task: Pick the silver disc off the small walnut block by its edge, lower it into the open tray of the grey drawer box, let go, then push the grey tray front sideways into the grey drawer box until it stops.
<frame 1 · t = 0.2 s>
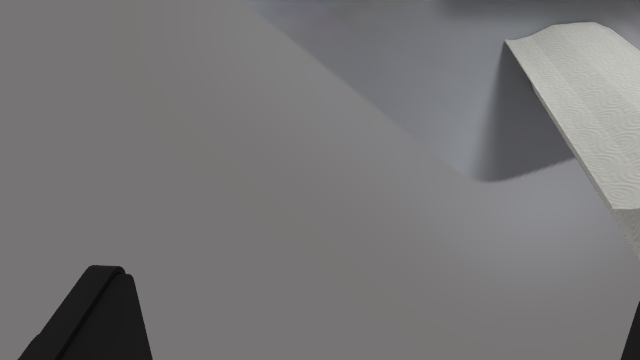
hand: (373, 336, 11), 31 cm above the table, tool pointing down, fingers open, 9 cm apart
paper towel roll: (569, 56, 39), on the table
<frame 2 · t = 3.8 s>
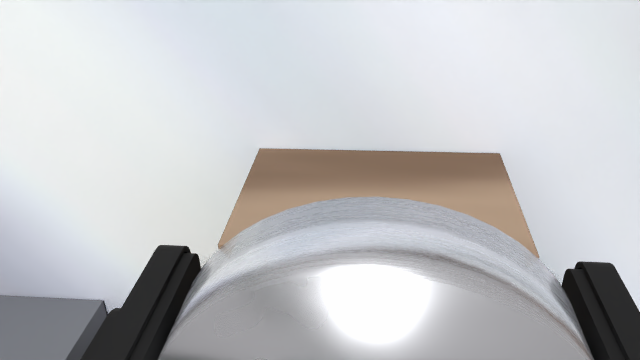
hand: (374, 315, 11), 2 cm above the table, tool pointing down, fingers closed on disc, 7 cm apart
pedestal: (374, 248, 13), on the table
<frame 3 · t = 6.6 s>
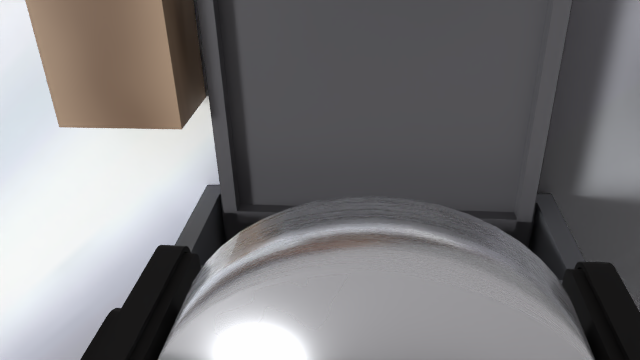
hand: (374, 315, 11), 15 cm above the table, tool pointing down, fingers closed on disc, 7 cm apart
pedestal: (141, 40, 24), on the table
grey drawer box: (371, 319, 31), on the table
tray: (375, 131, 21), point 4 cm above the table, slide at 11.0 cm
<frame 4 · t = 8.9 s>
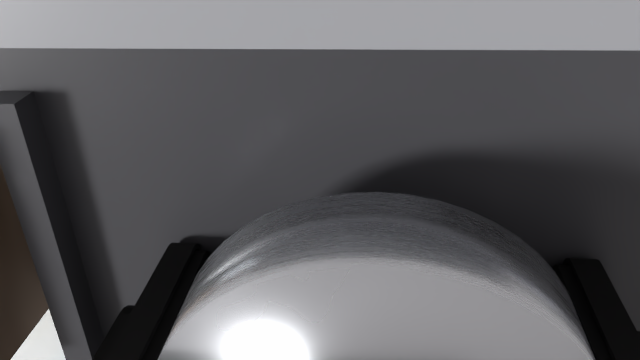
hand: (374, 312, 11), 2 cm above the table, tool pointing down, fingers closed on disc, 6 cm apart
disc: (373, 359, 10), point 3 cm above the table, touching gripper
when the fingers open (2 cm above the table, at t = 9.3 s): disc drops 2 cm, resting on tray.
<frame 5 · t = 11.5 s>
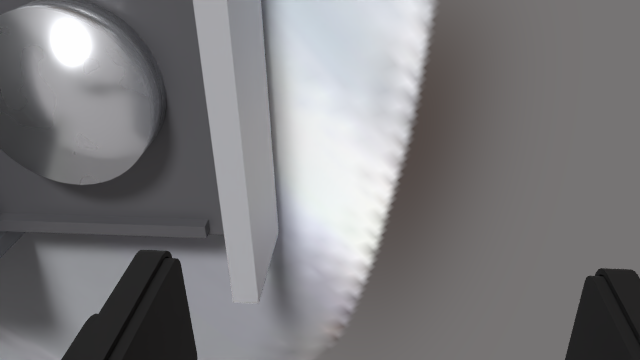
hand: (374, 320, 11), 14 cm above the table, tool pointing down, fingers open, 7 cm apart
disc: (80, 86, 23), point 2 cm above the table, touching tray
tray: (35, 107, 22), point 4 cm above the table, slide at 11.0 cm, touching disc
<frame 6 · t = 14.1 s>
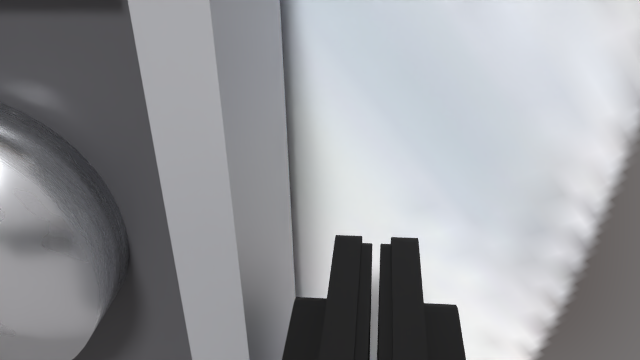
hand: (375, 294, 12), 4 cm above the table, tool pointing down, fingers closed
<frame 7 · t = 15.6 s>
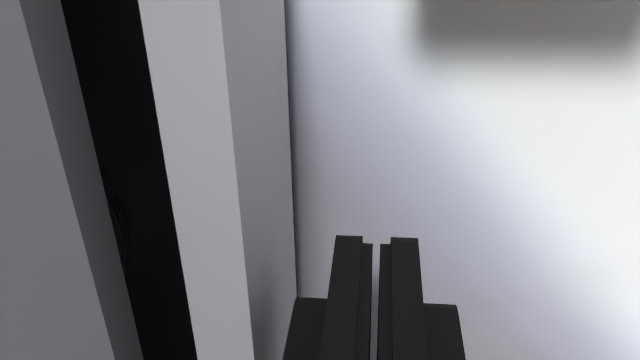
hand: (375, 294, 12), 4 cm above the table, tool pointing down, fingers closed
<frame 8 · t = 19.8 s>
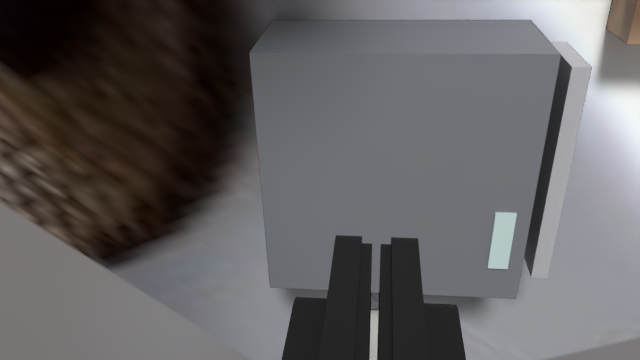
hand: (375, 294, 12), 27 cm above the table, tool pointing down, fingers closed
paper towel roll: (386, 328, 49), on the table
grey drawer box: (393, 136, 40), on the table
tray: (419, 161, 36), point 4 cm above the table, slide at 0.0 cm, touching disc
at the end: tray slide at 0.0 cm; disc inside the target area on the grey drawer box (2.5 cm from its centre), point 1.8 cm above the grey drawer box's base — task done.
